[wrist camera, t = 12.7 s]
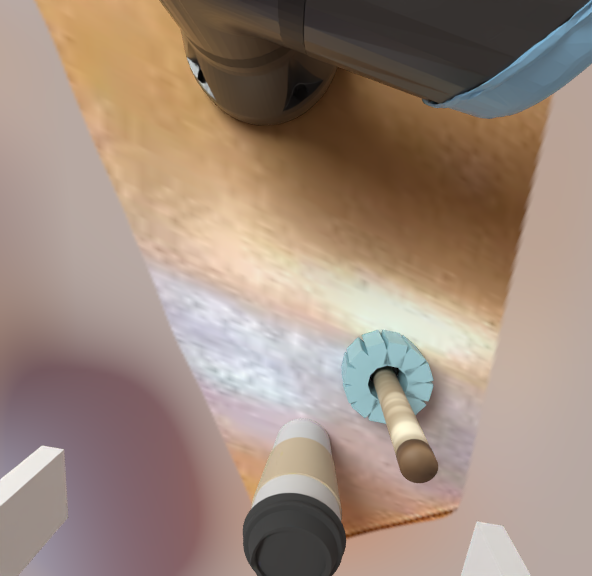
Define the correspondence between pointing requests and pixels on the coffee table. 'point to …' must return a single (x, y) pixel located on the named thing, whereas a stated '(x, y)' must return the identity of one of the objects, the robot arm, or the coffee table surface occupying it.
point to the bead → (379, 354)
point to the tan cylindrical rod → (404, 428)
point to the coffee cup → (296, 507)
